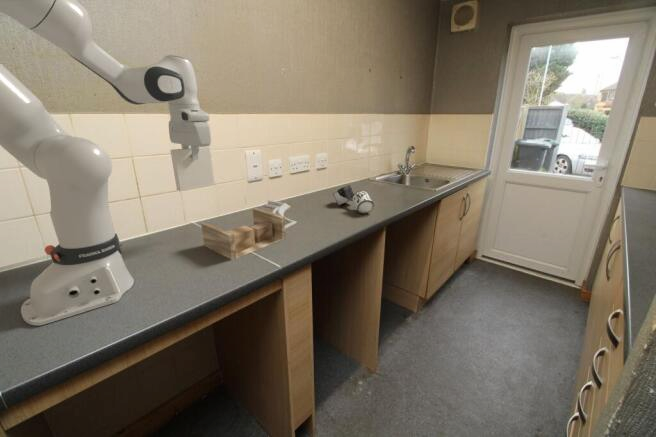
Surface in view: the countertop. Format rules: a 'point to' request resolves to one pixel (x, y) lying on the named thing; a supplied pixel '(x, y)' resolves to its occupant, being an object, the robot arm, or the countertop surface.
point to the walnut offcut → (262, 231)
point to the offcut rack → (225, 240)
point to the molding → (280, 210)
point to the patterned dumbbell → (354, 199)
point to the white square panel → (192, 168)
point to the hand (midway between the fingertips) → (191, 158)
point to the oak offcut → (243, 238)
